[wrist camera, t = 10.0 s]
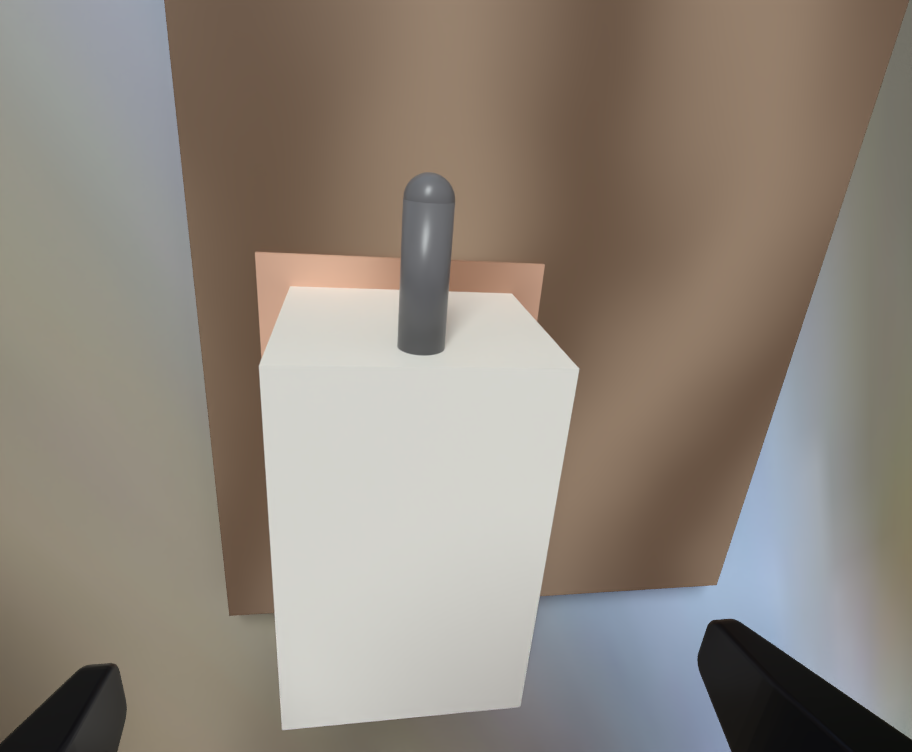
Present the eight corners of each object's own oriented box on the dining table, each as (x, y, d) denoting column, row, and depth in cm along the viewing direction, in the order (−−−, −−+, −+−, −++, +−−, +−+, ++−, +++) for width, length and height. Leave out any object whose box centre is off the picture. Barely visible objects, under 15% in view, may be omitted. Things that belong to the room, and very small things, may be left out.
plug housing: (300, 572, 16) (281, 730, 12) (285, 148, 11) (245, 165, 7) (479, 563, 17) (520, 707, 13) (526, 166, 12) (611, 189, 8)
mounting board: (235, 594, 17) (209, 696, 14) (153, -228, 10) (63, -381, 7) (703, 567, 19) (766, 648, 16) (909, -94, 12) (1087, -162, 9)
